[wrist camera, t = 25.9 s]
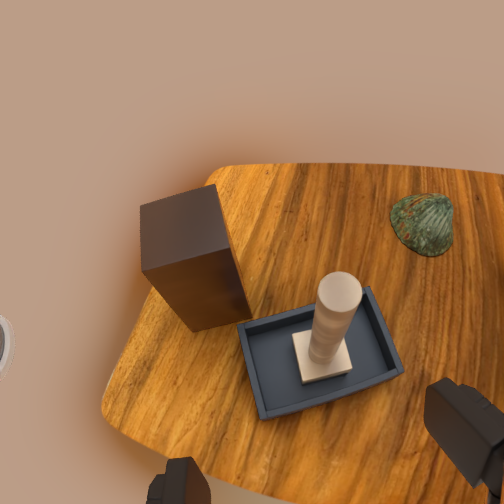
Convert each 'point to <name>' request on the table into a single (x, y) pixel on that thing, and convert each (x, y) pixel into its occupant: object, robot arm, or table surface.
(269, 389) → the tray
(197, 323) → the stand
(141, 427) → the table surface
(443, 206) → the seashell
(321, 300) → the wooden peg on base
